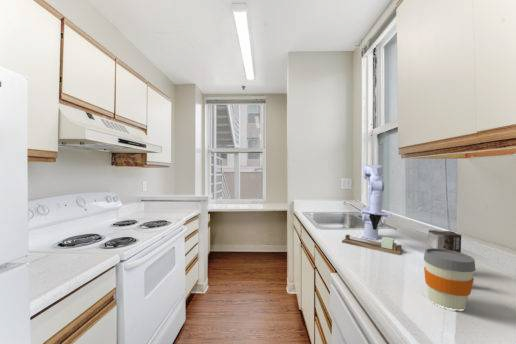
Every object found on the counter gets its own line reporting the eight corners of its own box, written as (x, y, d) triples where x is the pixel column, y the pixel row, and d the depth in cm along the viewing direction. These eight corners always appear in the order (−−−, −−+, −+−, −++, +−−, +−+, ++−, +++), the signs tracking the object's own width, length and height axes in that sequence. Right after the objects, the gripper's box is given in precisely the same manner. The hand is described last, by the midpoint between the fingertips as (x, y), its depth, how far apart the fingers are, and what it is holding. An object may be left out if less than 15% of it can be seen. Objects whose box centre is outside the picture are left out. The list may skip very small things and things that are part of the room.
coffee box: (449, 269, 103) (451, 230, 103) (460, 275, 97) (462, 235, 97) (426, 267, 104) (428, 229, 104) (435, 274, 98) (437, 233, 98)
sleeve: (383, 245, 129) (383, 236, 129) (393, 247, 126) (394, 238, 126) (381, 247, 126) (381, 238, 126) (392, 249, 123) (392, 240, 123)
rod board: (347, 239, 143) (347, 232, 143) (402, 250, 126) (403, 243, 126) (341, 242, 136) (342, 235, 136) (399, 255, 119) (399, 247, 119)
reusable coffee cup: (420, 289, 85) (422, 245, 84) (467, 300, 78) (470, 253, 78) (423, 306, 74) (425, 256, 74) (478, 320, 67) (481, 266, 67)
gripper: (359, 202, 131) (358, 227, 131) (389, 205, 122) (388, 233, 122) (363, 201, 137) (362, 225, 137) (392, 204, 128) (391, 230, 128)
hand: (374, 229), depth 130 cm, fingers closed
